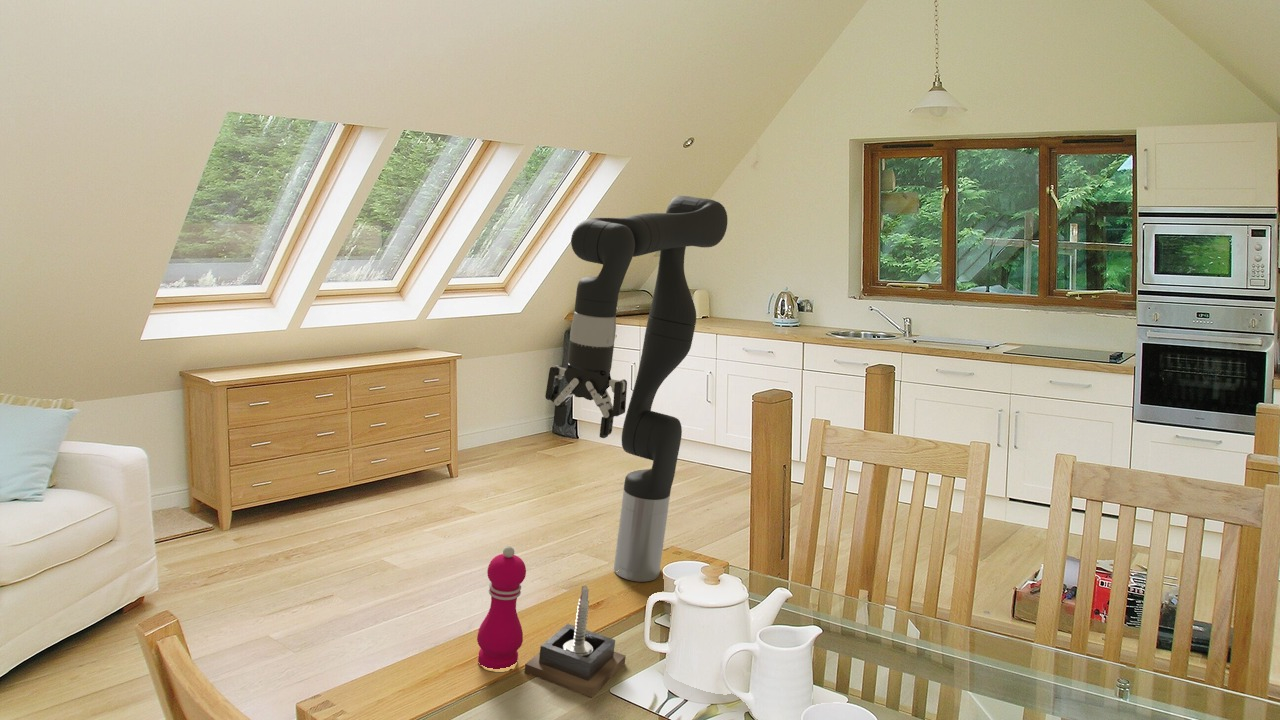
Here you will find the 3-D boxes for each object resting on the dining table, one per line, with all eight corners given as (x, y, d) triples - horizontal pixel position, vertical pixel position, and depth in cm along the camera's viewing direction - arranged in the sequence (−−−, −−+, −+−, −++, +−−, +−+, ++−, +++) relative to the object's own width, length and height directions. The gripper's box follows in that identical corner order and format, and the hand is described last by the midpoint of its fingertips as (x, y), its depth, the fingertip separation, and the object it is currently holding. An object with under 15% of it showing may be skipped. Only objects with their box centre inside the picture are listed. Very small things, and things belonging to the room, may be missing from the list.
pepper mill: (516, 677, 151) (529, 559, 146) (470, 671, 151) (482, 553, 146) (523, 653, 158) (535, 540, 153) (479, 648, 158) (490, 534, 153)
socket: (565, 639, 161) (567, 623, 160) (613, 656, 157) (615, 640, 157) (538, 662, 153) (540, 645, 152) (588, 681, 149) (590, 663, 149)
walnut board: (561, 641, 163) (562, 633, 163) (624, 663, 158) (625, 655, 158) (524, 672, 152) (525, 663, 152) (591, 697, 148) (592, 688, 147)
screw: (573, 648, 158) (597, 659, 156) (555, 659, 154) (579, 671, 152) (582, 575, 156) (606, 585, 153) (564, 585, 151) (589, 595, 149)
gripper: (639, 345, 163) (628, 436, 166) (565, 329, 168) (556, 418, 172) (620, 351, 156) (609, 446, 160) (544, 334, 162) (535, 426, 165)
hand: (581, 431), depth 166 cm, fingers open, 8 cm apart
